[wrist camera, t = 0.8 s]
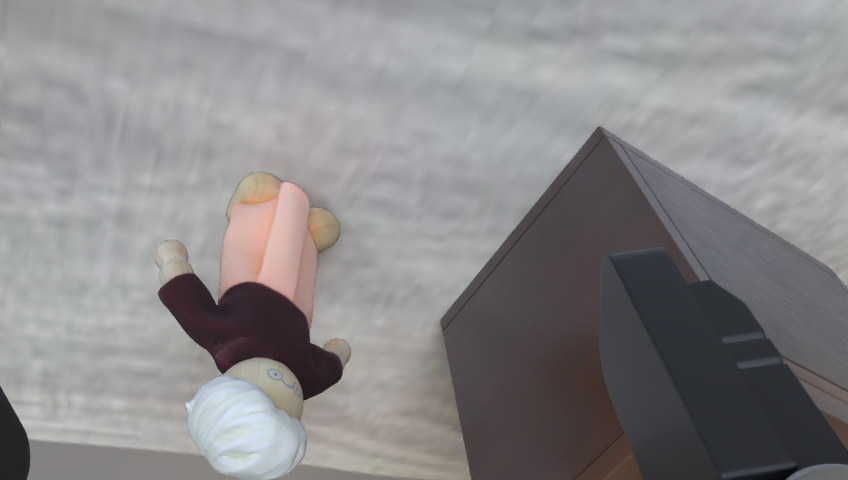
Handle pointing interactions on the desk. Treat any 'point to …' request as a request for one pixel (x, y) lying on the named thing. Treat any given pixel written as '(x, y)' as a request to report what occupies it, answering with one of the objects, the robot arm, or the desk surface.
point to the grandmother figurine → (257, 329)
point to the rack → (580, 314)
